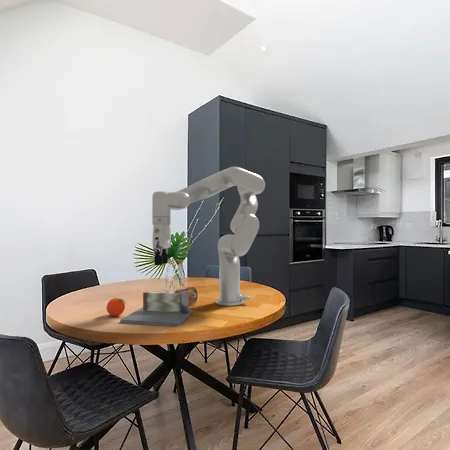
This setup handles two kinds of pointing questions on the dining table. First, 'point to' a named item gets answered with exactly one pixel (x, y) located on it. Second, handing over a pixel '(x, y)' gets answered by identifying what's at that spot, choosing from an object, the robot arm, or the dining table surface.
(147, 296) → the gate
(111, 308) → the clementine
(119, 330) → the dining table surface
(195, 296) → the tin
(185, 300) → the post
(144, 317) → the board
